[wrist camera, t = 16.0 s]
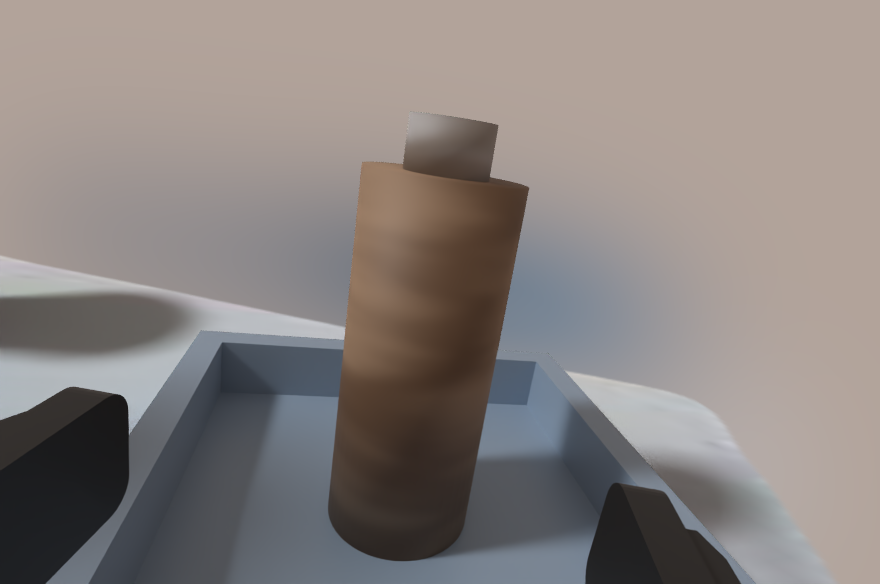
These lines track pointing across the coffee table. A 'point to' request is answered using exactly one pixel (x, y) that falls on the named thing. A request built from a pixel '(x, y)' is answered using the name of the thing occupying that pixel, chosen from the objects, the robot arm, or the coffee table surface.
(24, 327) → the coffee table surface
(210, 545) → the bin
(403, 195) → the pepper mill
